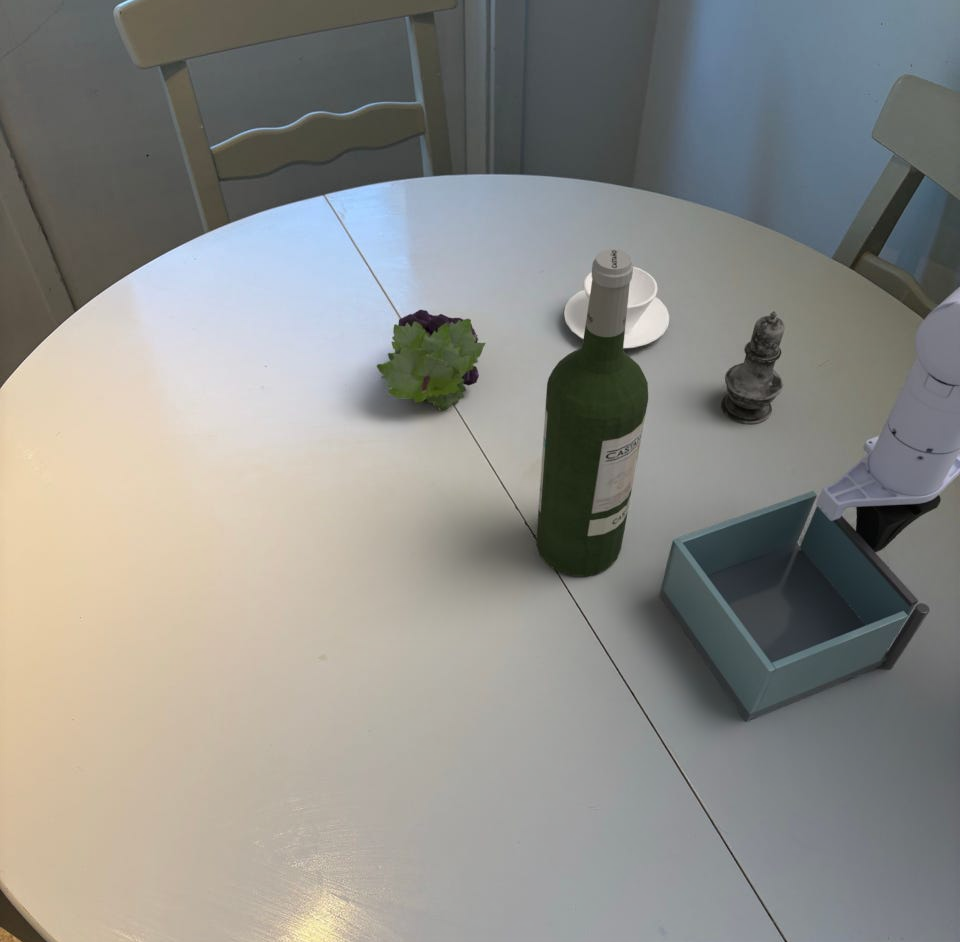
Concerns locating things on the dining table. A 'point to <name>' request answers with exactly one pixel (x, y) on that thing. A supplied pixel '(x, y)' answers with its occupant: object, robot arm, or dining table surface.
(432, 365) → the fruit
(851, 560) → the blue flat panel
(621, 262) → the wine bottle
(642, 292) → the teacup
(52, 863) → the dining table surface
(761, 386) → the grey chess piece
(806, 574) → the light blue open box
